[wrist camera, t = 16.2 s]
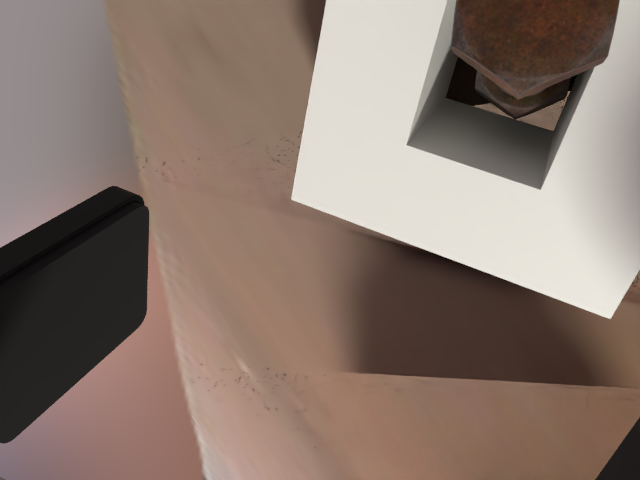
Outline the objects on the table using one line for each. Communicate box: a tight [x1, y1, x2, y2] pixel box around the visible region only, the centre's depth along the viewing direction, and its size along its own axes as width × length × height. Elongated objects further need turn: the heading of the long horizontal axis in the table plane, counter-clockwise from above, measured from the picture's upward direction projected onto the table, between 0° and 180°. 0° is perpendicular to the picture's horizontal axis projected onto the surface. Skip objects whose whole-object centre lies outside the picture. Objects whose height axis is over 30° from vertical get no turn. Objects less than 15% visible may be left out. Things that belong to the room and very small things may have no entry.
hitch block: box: [291, 0, 640, 319], centre depth 30 cm, size 17×18×9 cm
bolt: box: [451, 0, 620, 119], centre depth 26 cm, size 6×5×15 cm
